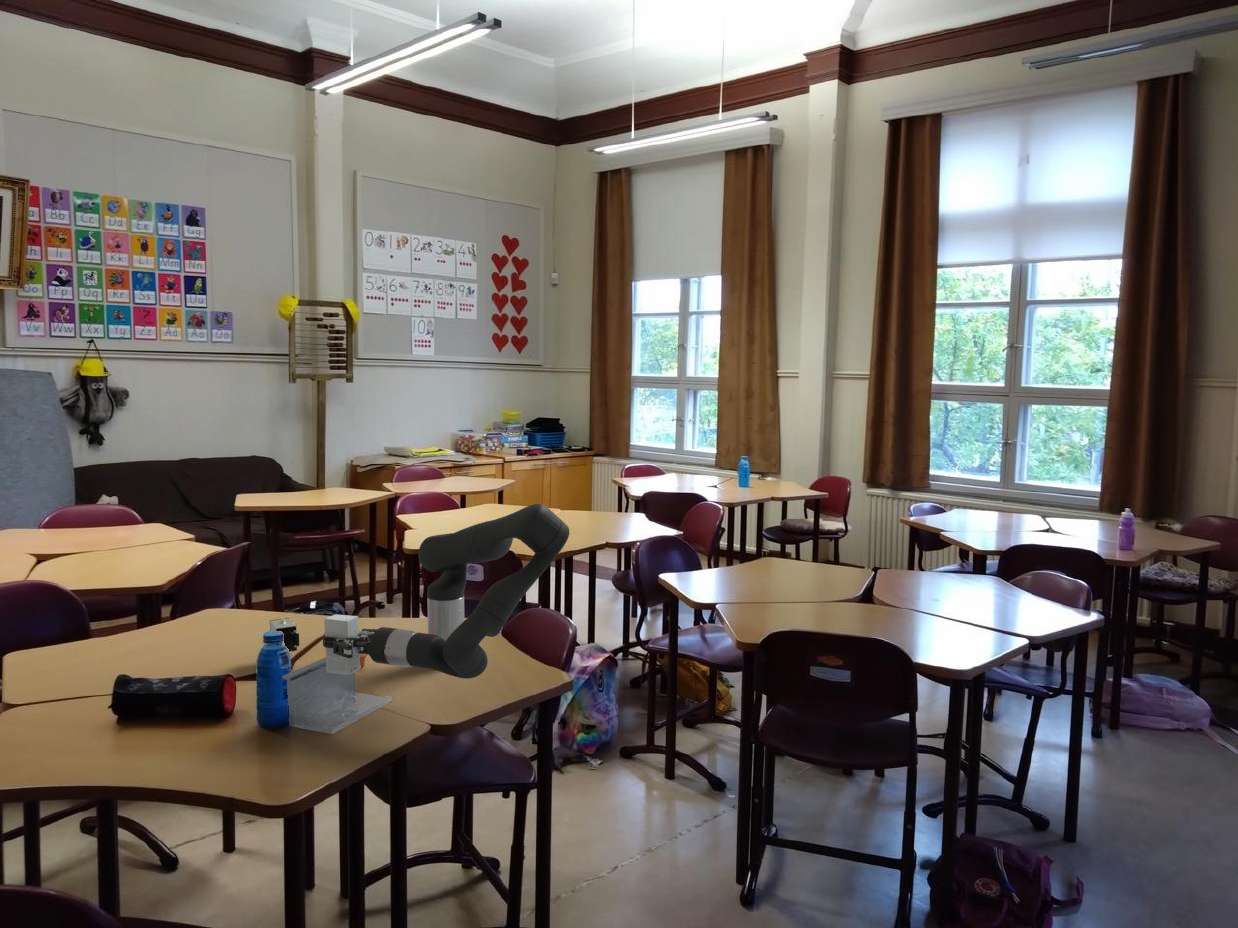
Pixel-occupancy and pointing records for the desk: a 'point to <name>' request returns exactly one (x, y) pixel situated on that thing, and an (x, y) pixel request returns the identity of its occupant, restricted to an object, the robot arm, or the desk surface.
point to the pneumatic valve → (287, 632)
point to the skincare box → (343, 629)
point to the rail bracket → (326, 699)
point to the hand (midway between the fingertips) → (332, 638)
